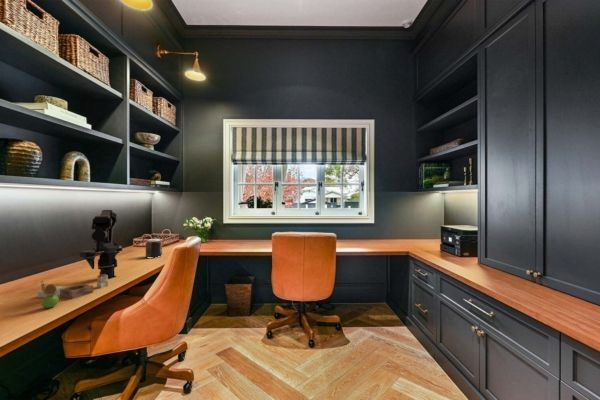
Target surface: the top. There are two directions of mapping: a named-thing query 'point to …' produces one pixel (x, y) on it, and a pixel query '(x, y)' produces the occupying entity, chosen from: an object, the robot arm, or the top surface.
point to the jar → (153, 248)
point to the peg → (102, 280)
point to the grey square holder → (76, 291)
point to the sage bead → (41, 294)
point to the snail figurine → (49, 295)
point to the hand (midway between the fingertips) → (102, 266)
